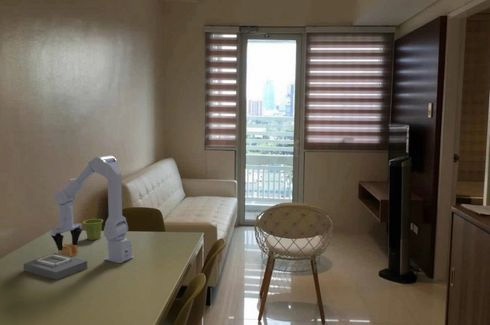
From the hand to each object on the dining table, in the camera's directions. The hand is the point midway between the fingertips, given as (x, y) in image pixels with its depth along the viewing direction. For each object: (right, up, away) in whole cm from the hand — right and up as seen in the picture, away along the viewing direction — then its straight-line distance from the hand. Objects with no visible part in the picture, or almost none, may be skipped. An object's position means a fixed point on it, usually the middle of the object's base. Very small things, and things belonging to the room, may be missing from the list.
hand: (67, 247), depth 191 cm
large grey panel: (+3, -5, -19) cm, 19 cm away
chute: (0, -3, 0) cm, 3 cm away
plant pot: (+3, 0, +24) cm, 24 cm away
